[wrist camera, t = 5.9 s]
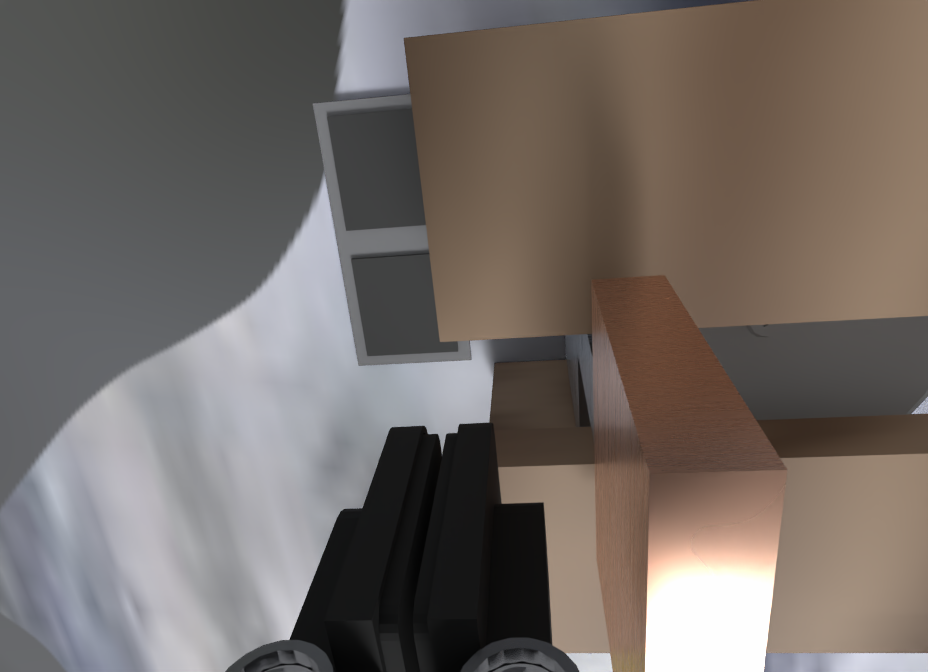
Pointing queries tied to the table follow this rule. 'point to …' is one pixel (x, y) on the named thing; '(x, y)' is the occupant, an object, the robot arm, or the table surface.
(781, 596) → the tunnel
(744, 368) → the canned food
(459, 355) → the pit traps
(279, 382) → the table surface
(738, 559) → the slider
